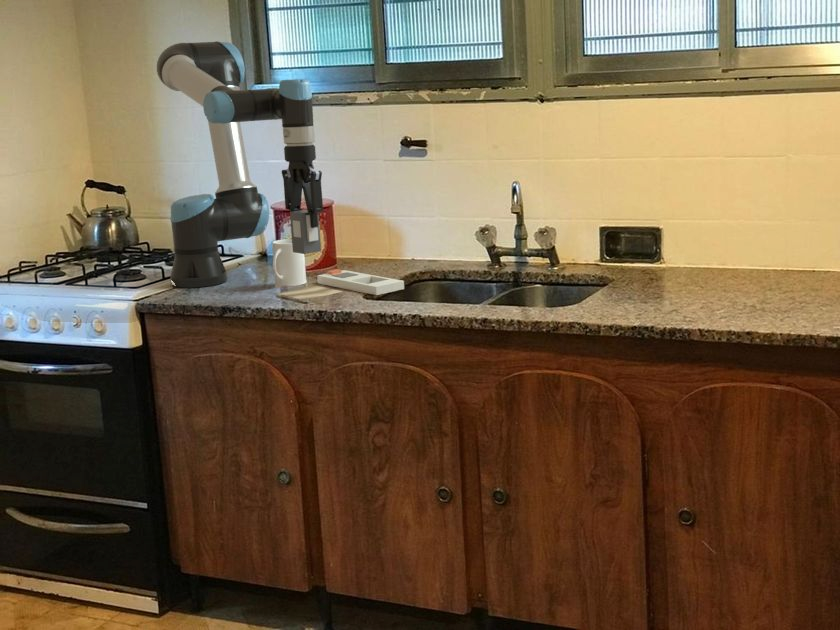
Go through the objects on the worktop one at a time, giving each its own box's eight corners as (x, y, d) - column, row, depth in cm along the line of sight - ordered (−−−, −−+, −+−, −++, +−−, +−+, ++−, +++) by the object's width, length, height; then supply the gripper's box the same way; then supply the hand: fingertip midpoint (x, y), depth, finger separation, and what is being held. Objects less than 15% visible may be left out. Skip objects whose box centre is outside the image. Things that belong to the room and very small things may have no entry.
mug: (286, 293, 264) (283, 246, 261) (260, 291, 268) (256, 245, 265) (313, 284, 274) (310, 239, 271) (288, 282, 278) (284, 238, 275)
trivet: (276, 297, 259) (275, 293, 259) (314, 289, 267) (314, 285, 267) (304, 304, 250) (304, 300, 250) (343, 295, 258) (343, 291, 258)
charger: (292, 252, 256) (289, 212, 254) (309, 249, 259) (306, 209, 257) (304, 254, 252) (301, 213, 250) (321, 251, 256) (318, 210, 253)
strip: (304, 284, 274) (303, 269, 273) (331, 278, 280) (330, 264, 279) (376, 298, 252) (375, 283, 252) (404, 292, 258) (403, 277, 257)
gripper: (265, 145, 254) (272, 238, 259) (308, 146, 241) (315, 245, 246) (290, 142, 259) (297, 234, 264) (334, 143, 246) (340, 240, 251)
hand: (306, 239), depth 255 cm, fingers closed on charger, 5 cm apart
